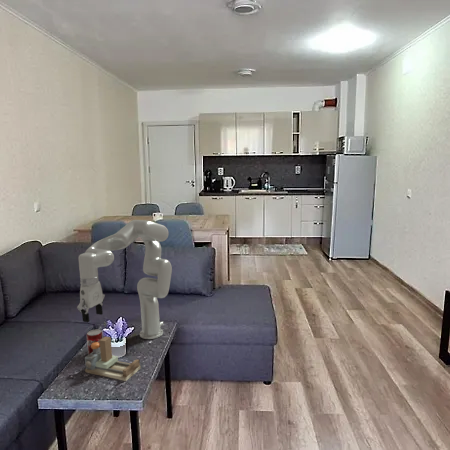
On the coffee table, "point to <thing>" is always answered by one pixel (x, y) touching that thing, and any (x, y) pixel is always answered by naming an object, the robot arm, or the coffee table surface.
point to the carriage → (106, 354)
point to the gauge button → (95, 347)
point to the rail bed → (111, 367)
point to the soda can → (93, 338)
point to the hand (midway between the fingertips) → (93, 317)
